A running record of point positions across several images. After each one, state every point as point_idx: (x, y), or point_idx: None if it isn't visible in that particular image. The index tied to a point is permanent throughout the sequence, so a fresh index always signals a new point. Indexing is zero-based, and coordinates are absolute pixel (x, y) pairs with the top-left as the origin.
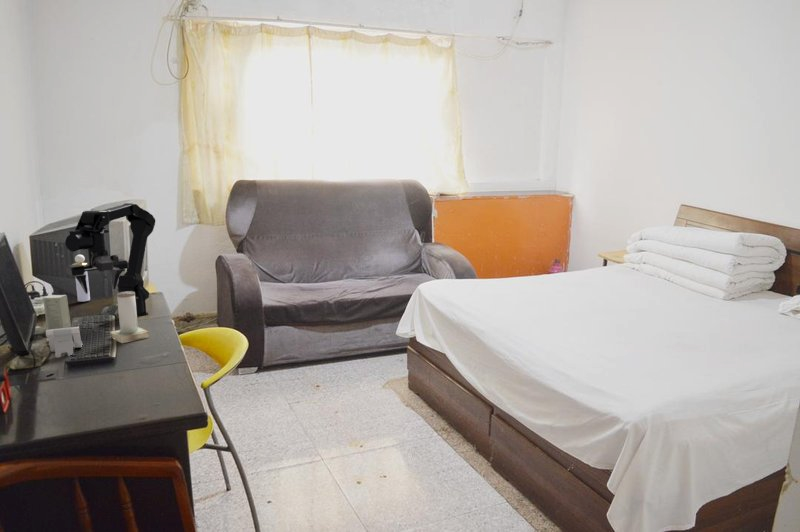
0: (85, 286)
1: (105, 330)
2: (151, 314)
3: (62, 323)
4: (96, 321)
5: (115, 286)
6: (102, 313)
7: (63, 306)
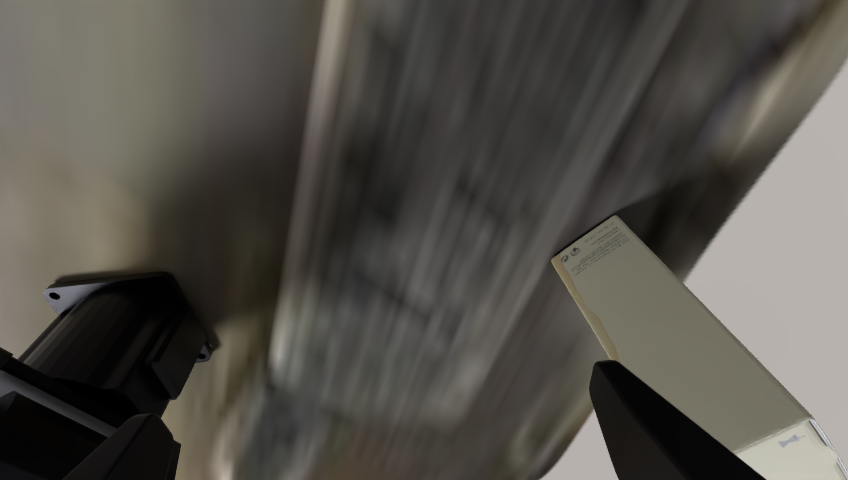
0: (727, 476)
1: (399, 52)
2: (26, 275)
3: (644, 245)
4: (387, 313)
5: (94, 455)
6: (324, 424)
7: (689, 351)
